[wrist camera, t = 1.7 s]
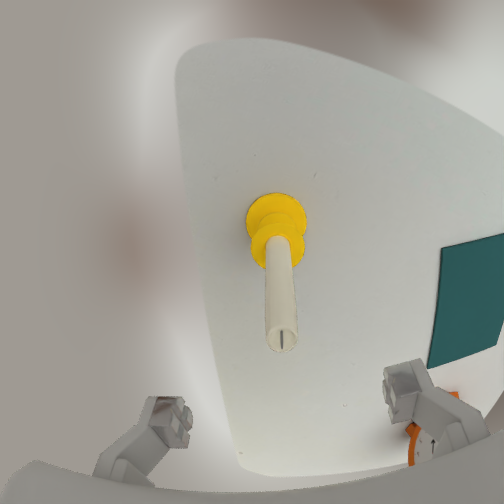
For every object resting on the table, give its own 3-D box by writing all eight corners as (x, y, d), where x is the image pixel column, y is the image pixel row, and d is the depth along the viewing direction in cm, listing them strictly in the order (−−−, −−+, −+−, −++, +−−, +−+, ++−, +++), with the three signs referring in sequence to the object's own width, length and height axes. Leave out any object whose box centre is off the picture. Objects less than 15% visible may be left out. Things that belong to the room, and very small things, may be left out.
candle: (246, 191, 26) (219, 299, 12) (308, 193, 26) (350, 301, 12) (246, 248, 29) (226, 383, 15) (304, 249, 28) (330, 385, 15)
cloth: (441, 248, 28) (443, 249, 27) (520, 229, 26) (522, 230, 25) (426, 367, 35) (427, 369, 35) (495, 343, 33) (496, 345, 33)
